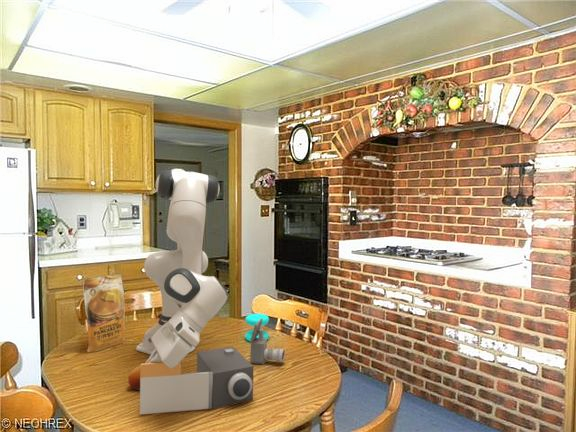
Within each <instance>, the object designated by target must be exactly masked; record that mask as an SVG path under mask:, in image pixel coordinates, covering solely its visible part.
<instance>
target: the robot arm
mask: <svg viewBox="0 0 576 432" xmlns="http://www.w3.org/2000/svg"><path fill="white" fill-rule="evenodd" d="M220 189H221V188H220V183H219V179H218V178H217V177H216V176H215V175H212V174H204V173H200V172H195V171H182V170H181V171H180V170H172V169H167V170H162V171H160V173H159V175H157V178H156V180H155V190H156V194H157V196H159V198H161V199H163V200H166V201H169V200H170V204H169V208H168V215H167V223H166V224H167V225H166V235H167V237H168V238H169V239H170V240H171V241H173V242H175V243H176V244H177V245H176V246H177V247H176V248H177V249H173V250H162V251H158V252H154V253H151V254H148V256H147V257H146V259H145V261H144V264H143V268H144V272H145V274H146V277H148V278H149V279H150V281H151V280H152V282H154V283H155V285H157V287H158V289H159V291H160V295H161V303H162V304H161V313H159V315H156V316H155V317H156V318H155V320H158V321H157V323H155V324H154V325H153V326H151V327H150V328H149V329H148V330H146V332H145V333H144V336H143V338H142V342H140V343H139V344H138V345H137V346H136V349H135V350H136V351H138V352H141V353H143V354H144V353H145V354H148V355H149V358H147V360H146V361H145V363H160V362H163V363H164V364H166V365H167V366H168V367H169V368H173V367H175V366H176V365H178V364H179V363H180V362H181V363H182V361H183V360H184V358H185V357H187V355H188V354H189V353H191V352H193V351H194V350H195V349H196V347H197V346H198V345H199V343H200V334H201V332H202V330H203V329H204V328H205V327H206V324H207V323H208V322H209V321H210V320H211V319H213V318H214V317H215V316H216V314H217V313H218V312H219V311H221V309H222V307H223V306H224V304H225V303H227V300H228V298H229V293H228V290H227V289H226V288H225V286H224V284H223V283H222V282H221V281H220V279H218V277H216V276H213V275H212V276H207V275H203V273H205V272H206V271H207V269H208V267H209V258H208V255H207V253H206V252H205V251H204V250H203V244H204V242H203V240H204V231H205V223H206V212H207V205H208V204H213V203H214V202H216V201H217V198H218V197H219V194H220V191H221V190H220Z"/></svg>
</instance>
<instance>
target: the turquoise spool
mask: <svg viewBox="0 0 576 432" xmlns="http://www.w3.org/2000/svg"><path fill="white" fill-rule="evenodd" d="M261 318H262V319H263V320H262V324H261V327H262V326H263V327H264V326H266V325H267V324H269V322H270V317H269V316H268V315H266V314H263V313H252V314H248V315H247V316H246V317H245V323H246V324H247V325H249V326H251V327H255V324H256V323H257V322H258V321H259V320H260V319H261ZM253 330H254V328H253V329H250V330H248V331H246V333H245V335H244V337H245V339H246V341H248V342H250V340H251V337H252V333H253ZM256 338H259V334H258V336H257V337H256ZM264 338H265V339H266V340H267V341H268V339H269V333H268V331H266V330H264Z"/></svg>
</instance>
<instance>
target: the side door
mask: <svg viewBox="0 0 576 432" xmlns="http://www.w3.org/2000/svg"><path fill="white" fill-rule="evenodd" d="M139 366H140V390H139V415H146V414H147V415H149V414H161V413H173V412H184V411H186V412H187V411H195V410H208V409H209V410H212V409H213V408H212V389H213V372H200V373H197V372H188V373H182V361H181V362H180V363H179V364H178V365H176V366H175V367H173V368H169V367H168V366H167V365H166V364H164V363H163V362H160V363H144V362H143V363H140V364H139Z"/></svg>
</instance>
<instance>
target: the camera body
mask: <svg viewBox="0 0 576 432" xmlns="http://www.w3.org/2000/svg"><path fill="white" fill-rule="evenodd" d="M200 372H213V389H212V408H211V409H219V408H223V407H228V406H231V405H236V404H240V403H244V402H248V401H253V400H254V365H253V363H251V362H249V361H248V359H247V358H246V357H244V356H243V355H242V354H241V353H240V352H239V351H238V350H237V348H235V347H234V346H227V347H226V346H225V347H219V348H213V349H208V350H200V351H196V373H200Z"/></svg>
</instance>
